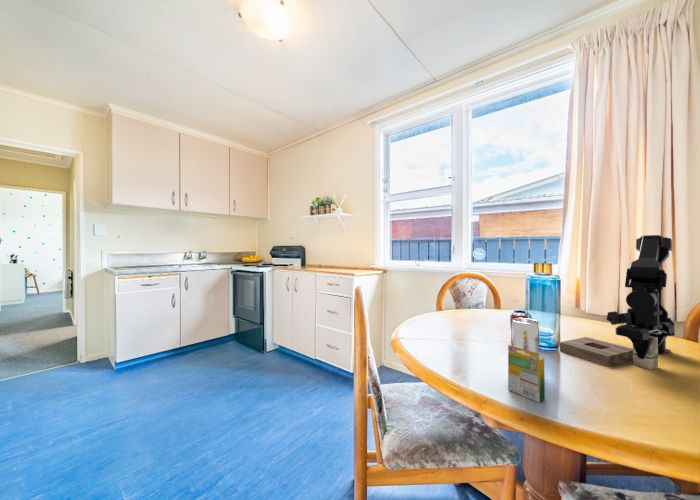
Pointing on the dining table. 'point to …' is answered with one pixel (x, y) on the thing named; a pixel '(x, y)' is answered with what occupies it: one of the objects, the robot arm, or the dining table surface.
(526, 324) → the white box
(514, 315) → the beverage can
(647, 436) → the dining table surface
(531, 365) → the crayon box
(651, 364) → the maple peg
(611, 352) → the walnut board
